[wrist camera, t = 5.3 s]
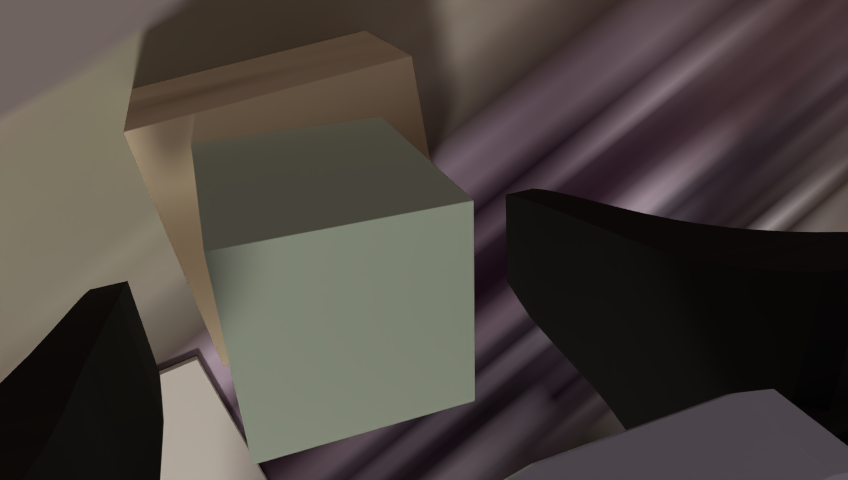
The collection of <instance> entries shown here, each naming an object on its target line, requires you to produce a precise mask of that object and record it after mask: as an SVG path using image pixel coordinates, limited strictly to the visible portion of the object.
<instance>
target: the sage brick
mask: <svg viewBox="0 0 848 480" xmlns="http://www.w3.org/2000/svg"><path fill="white" fill-rule="evenodd" d="M191 149H192V157H193V166H194V174H195V182H196V191H197V199H198V207H199V215H200V224H201V232H202V240H203V249H204V255H205V259H206V263H207V268H208V272H209V277H210V281H211V285H212V290H213V294H214V298H215V303H216V307H217V312H218V316H219V320H220V325H221V329H222V334H223V338H224V342H225V347H226V351H227V355H228V360H229V364H230V369H231V373H232V377H233V382H234V386H235V391H236V395H237V399H238V404H239V408H240V413H241V417H242V421H243V426H244V430H245V434H246V439H247V443H248V448H249V452H250V456H251V461H252V465H254V464H258V463H261V462H265V461H268V460H272V459H275V458H278V457H282V456H285V455H289V454H292V453H296V452H299V451H303V450H306V449H310V448H313V447H317V446H320V445H324V444H327V443H330V442H334V441H337V440H341V439H344V438H348V437H351V436H355V435H358V434H362V433H365V432H369V431H372V430H376V429H379V428H382V427H386V426H389V425H393V424H396V423H400V422H403V421H407V420H410V419H414V418H417V417H421V416H424V415H428V414H431V413H435V412H438V411H441V410H445V409H448V408H452V407H455V406H459V405H462V404H466V403H469V402H473V401H475V343H474V200H473V199H471V198H470V197H469V196H468V195H467V194H466V193H465V192H464V191H463V190H461V189H460V188H459V187H458V186H457V185H456V184H455V183H454V182H453V181H452V180H450V179H449V178H448V177H447V176H446V175H445V174H444V173H443V172H442V171H441V170H439V169H438V168H437V167H436V166H435V165H434V164H433V163H432V162H431V161H430V160H428V159H427V158H426V157H425V156H424V155H423V154H422V153H421V152H420V151H419V150H417V149H416V148H415V147H414V146H413V145H412V144H411V143H410V142H409V141H407V140H406V139H405V138H404V137H403V136H402V135H401V134H400V133H399V132H398V131H396V130H395V129H394V128H393V127H392V126H391V125H390V124H389V123H388V122H387V121H385V120H384V119H383V118H382V117H381V116H380V117H373V118H366V119H359V120H352V121H345V122H338V123H331V124H324V125H317V126H310V127H303V128H296V129H289V130H282V131H275V132H268V133H261V134H254V135H247V136H240V137H233V138H226V139H219V140H212V141H205V142H199V143H192V144H191Z"/></svg>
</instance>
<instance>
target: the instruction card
mask: <svg viewBox="0 0 848 480" xmlns="http://www.w3.org/2000/svg"><path fill="white" fill-rule="evenodd" d="M159 373H160V381H161V392H162V403H163V417H164V428H163V445H162V461H161V475H160V480H267V478H266V476H265V474H264V473H263V471H262V469H261V467H260V466H259V464H254V465H252V461H251V456H250V452H249V448H248V445H247V443H246V441H245V439H244V438H243V436H242V434H241V432H240V431H239V429H238V427H237V425H236V424H235V422H234V420H233V418H232V417H231V415H230V413H229V411H228V410H227V408H226V406H225V404H224V403H223V401H222V399H221V397H220V396H219V394H218V392H217V390H216V389H215V387H214V385H213V383H212V382H211V380H210V378H209V376H208V375H207V373H206V371H205V369H204V368H203V366H202V364H201V362H200V361H199V359H198V357H197V356H195V357H192V358H190V359H188V360H185V361H183V362H180V363H178V364H176V365H173V366H171V367H168V368H166V369H164V370H161V371H159Z"/></svg>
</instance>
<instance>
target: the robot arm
mask: <svg viewBox="0 0 848 480" xmlns="http://www.w3.org/2000/svg"><path fill="white" fill-rule="evenodd" d="M506 228H507V281H508V283H509V285H510V286H511V288H512V289H513V291H514V293H515V294H516V296H517V298H518V299H519V301H520V302H521V304H522V305H523V307H524V308H525V310H526V311H527V313H528V314H529V316H530V317H531V318H532V319H533V321H534V322H535V323H536V324H537V325H538V326H539V327H540V329H541V330H542V331H543V332H544V333H545V334H546V335H547V336H548V338H549V339H550V340H551V341H552V342H553V343H554V344H555V345H556V347H557V348H558V349H559V350H560V351H561V352H562V353H563V354H564V355H565V356H566V358H567V359H568V360H569V361H570V362H571V363H572V364H573V365H574V366H575V368H576V369H577V370H578V371H579V372H580V373H581V374H582V375H583V376H584V377H585V379H586V380H587V381H588V382H589V383H590V384H591V385H592V386H593V387H594V389H595V390H596V391H597V392H598V393H599V395H600V396H601V397H602V398H603V399H604V401H605V402H606V403H607V404H608V406H609V407H610V408H611V410H612V411H613V412H614V414H615V415H616V417H617V418H618V419H619V421H620V422H621V424H622V425H623V426H624V428H625V429H626V430H625V431H623V432H620V433H617V434H614V435H611V436H609V437H606V438H603V439H600V440H597V441H595V442H592V443H589V444H586V445H583V446H580V447H578V448H575V449H572V450H569V451H566V452H564V453H561V454H558V455H555V456H552V457H550V458H547V459H544V460H541V461H538V462H536V463H533V464H531V465H529V466H527V467H525V468H524V469H522V470H520V471H518V472H516V473H515V474H513V475H511V476H509V477H508V478H506V479H504V480H848V232H784V231H767V230H751V229H739V228H729V227H721V226H713V225H706V224H698V223H691V222H685V221H679V220H674V219H669V218H664V217H659V216H654V215H649V214H644V213H640V212H636V211H631V210H627V209H623V208H619V207H615V206H611V205H607V204H603V203H599V202H595V201H591V200H587V199H583V198H579V197H575V196H571V195H567V194H563V193H558V192H553V191H548V190H542V189H529V190H525V191H521V192H516V193H512V194H507V195H506ZM163 428H164V417H163V403H162V392H161V381H160V373H159V370H158V367H157V365H156V362H155V359H154V356H153V353H152V350H151V347H150V344H149V342H148V339H147V336H146V333H145V330H144V327H143V324H142V321H141V319H140V316H139V313H138V310H137V307H136V304H135V301H134V298H133V296H132V293H131V290H130V287H129V284H128V281H126V282H121V283H117V284H113V285H108V286H104V287H100V288H95V289H91V290H89V291H88V292H87V293H85V294H84V295H83V296H82V297H81V298H80V300H79V301H78V302H77V303H76V304H75V305H74V306H73V307H72V308H71V309H70V311H69V312H68V313H67V314H66V315H65V316H64V317H63V318H62V320H61V321H60V322H59V323H58V324H57V325H56V326H55V327H54V328H53V330H52V331H51V332H50V333H49V334H48V335H47V336H46V337H45V338H44V339H43V341H42V342H41V343H40V344H39V345H38V346H37V347H36V348H35V349H34V350H33V351H32V352H31V354H30V355H29V356H28V357H27V358H26V359H24V360H23V361H22V362H21V363H20V364H19V365H18V366H17V367H16V368H15V369H14V370H13V371H12V372H11V373H10V374H9V375H8V376H7V377H6V378H5V379H4V380H3V381H2V382H1V383H0V480H160V475H161V461H162V445H163Z"/></svg>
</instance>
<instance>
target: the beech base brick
mask: <svg viewBox="0 0 848 480" xmlns="http://www.w3.org/2000/svg"><path fill="white" fill-rule="evenodd" d="M380 116H381V117H382V118H383V119H384V120H385V121H387V122H388V123H389V124H390V125H391V126H392V127H393V128H394V129H395V130H396V131H398V132H399V133H400V134H401V135H402V136H403V137H404V138H405V139H406V140H407V141H409V142H410V143H411V144H412V145H413V146H414V147H415V148H416V149H417V150H419V151H420V152H421V153H422V154H423V155H424V156H425V157H426V158H427V159H428V160H430V156H429V151H428V145H427V139H426V134H425V128H424V123H423V117H422V111H421V106H420V100H419V95H418V89H417V83H416V78H415V72H414V66H413V61H412V56H411V55H409V54H407V53H405V52H404V51H402V50H400V49H398V48H396V47H394V46H393V45H391V44H389V43H387V42H385V41H383V40H382V39H380V38H378V37H376V36H374V35H373V34H371V33H369V32H367V31H361V32H357V33H353V34H349V35H345V36H341V37H337V38H333V39H329V40H325V41H321V42H317V43H313V44H309V45H305V46H301V47H297V48H293V49H289V50H285V51H281V52H277V53H273V54H269V55H265V56H261V57H257V58H253V59H249V60H245V61H241V62H237V63H233V64H229V65H225V66H221V67H217V68H213V69H209V70H205V71H201V72H197V73H193V74H189V75H185V76H181V77H177V78H173V79H169V80H165V81H161V82H157V83H153V84H149V85H145V86H141V87H137V88H133V89H132V91H131V96H130V102H129V107H128V112H127V117H126V122H125V127H124V134H125V137H126V139H127V141H128V144H129V146H130V148H131V151H132V153H133V155H134V158H135V160H136V162H137V165H138V167H139V169H140V172H141V174H142V176H143V179H144V181H145V183H146V186H147V188H148V190H149V193H150V195H151V198H152V200H153V202H154V205H155V207H156V209H157V212H158V214H159V216H160V219H161V221H162V223H163V226H164V228H165V230H166V233H167V235H168V237H169V240H170V242H171V244H172V247H173V249H174V251H175V254H176V256H177V258H178V261H179V263H180V266H181V268H182V270H183V273H184V275H185V277H186V280H187V282H188V284H189V287H190V289H191V291H192V294H193V296H194V298H195V301H196V303H197V305H198V308H199V310H200V312H201V315H202V317H203V319H204V322H205V324H206V326H207V329H208V331H209V334H210V336H211V338H212V341H213V343H214V345H215V348H216V350H217V352H218V355H219V357H220V359H221V362H222V364H223V366H226V365H229V360H228V355H227V351H226V347H225V342H224V338H223V334H222V329H221V325H220V320H219V316H218V312H217V307H216V303H215V298H214V294H213V290H212V285H211V281H210V277H209V272H208V268H207V263H206V259H205V255H204V249H203V240H202V232H201V224H200V215H199V207H198V199H197V191H196V182H195V174H194V166H193V157H192V149H191V144H192V143H199V142H205V141H212V140H219V139H226V138H233V137H240V136H247V135H254V134H261V133H268V132H275V131H282V130H289V129H296V128H303V127H310V126H317V125H324V124H331V123H338V122H345V121H352V120H359V119H366V118H373V117H380Z"/></svg>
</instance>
